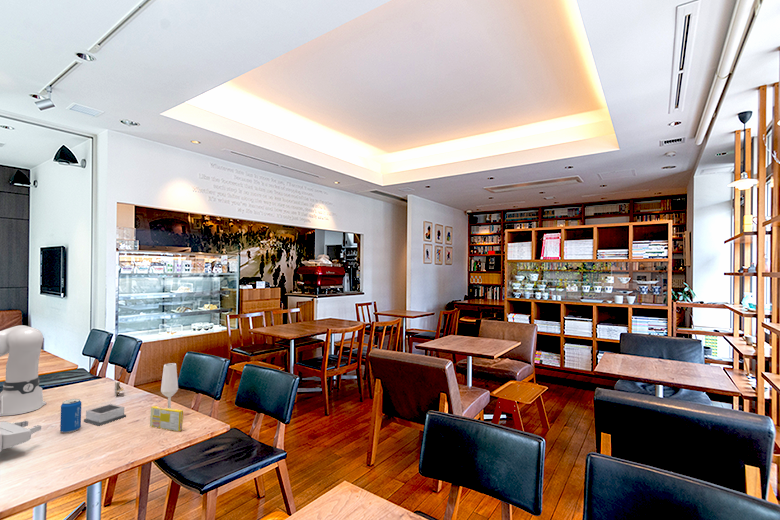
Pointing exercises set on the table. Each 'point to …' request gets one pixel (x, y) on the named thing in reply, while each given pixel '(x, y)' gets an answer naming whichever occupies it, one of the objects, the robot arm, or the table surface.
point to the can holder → (104, 414)
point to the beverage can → (70, 415)
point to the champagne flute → (169, 381)
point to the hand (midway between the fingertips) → (33, 425)
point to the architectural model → (118, 388)
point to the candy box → (166, 418)
